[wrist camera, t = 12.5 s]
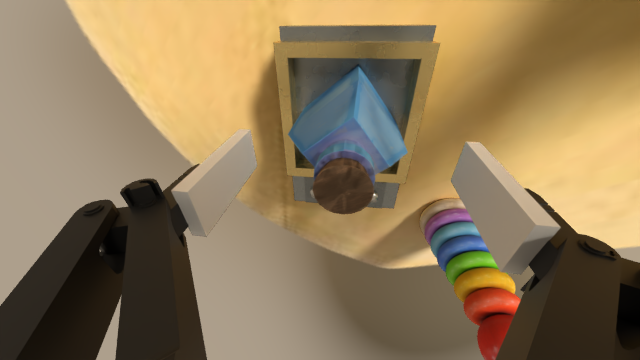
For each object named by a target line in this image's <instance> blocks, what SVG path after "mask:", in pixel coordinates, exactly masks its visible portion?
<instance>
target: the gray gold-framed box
mask: <svg viewBox="0 0 640 360" xmlns="http://www.w3.org/2000/svg"><path fill="white" fill-rule="evenodd" d="M279 28H280V39H281V41H278V42H274V43H273V44H274V53H275V63H276V73H277V82H278V92H279V101H280V111H281V121H282V130H283V140H284V150H285V159H286V169H287V175H288V176H293V187H294V198H295V200H297V201H305V202H313V203H318V202H317V200H316V199H315V197H314V194H313V182H314V169H315V167H314V166H313V165H312V164H311V163H310V162H309V161H308V159H307V158H306V157H305V156H304V155H303V154H302V153H301V151H300V150H299V149H298V147H297V146H296V145H295V143H294V142H293V141H292V139H291V138H290V137H289V135H288V133H289V132H290V130H291V128H292V127H293V125H294V124H295V122H296V120H297V119H298V117H299V116H300V114H301V112H302V111H303V109H304V108H305V107H306V106H308V105H309V104H310V103H311V102H313V101H314V100H315V99H316V98H317V97H319V96H320V95H321V94H322V93H324V92H325V91H326V90H327V89H328V88H330V87H331V86H332V85H333V84H335V83H336V82H337V81H338V80H340V79H341V78H342V77H343V76H344V75H346V74H347V73H348V72H349V71H351V70H352V69H353V68H354V67H355V66H357V65H358V64H359V65H360V67H361V69H362V70H363V72H364V73H365V75H366V76H367V78H368V79H369V81H370V82H371V84H372V86H373V87H374V89H375V90H376V92H377V93H378V95H379V96H380V98H381V99H382V101H383V103H384V104H385V106H386V107H387V109H388V110H389V112H390V113H391V115H392V116H393V118H394V120H395V121H396V123H397V126H398V128H399V131H400V133H401V136H402V139H403V141H404V144H405V146H406V149H407V151H408V153H407V154H405V155H404V156H403V157H402V158H400V159H399V160H398V161H397V162H395V163H394V164H393V165H392V166H390V167H389V168H387V169H385V170H383V171H381V172H380V173H378V174H376V175H375V182H374V186H373V187H374V194H373V198H372V200H371V202H370V203H369V204H368V206H367V207H373V208H394V205H395V201H396V197H397V192H398V188H399V184H400V183H402V184H405V182H406V178H407V174H408V170H409V166H410V162H411V158H412V154H413V150H414V146H415V142H416V138H417V134H418V130H419V126H420V122H421V118H422V114H423V110H424V106H425V102H426V98H427V94H428V90H429V86H430V82H431V78H432V74H433V70H434V66H435V62H436V58H437V54H438V50H439V46H440V43H438V42H434V41H433V37H434V33H435V28H436V25H322V26H279Z"/></svg>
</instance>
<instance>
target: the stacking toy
mask: <svg viewBox="0 0 640 360" xmlns="http://www.w3.org/2000/svg"><path fill="white" fill-rule="evenodd" d="M419 225H420V229H421V231H422V233H423V234H424V235H425V238H426V240H427V242H428V244H429V245H430V246H431V250H432V252H433V254H434V255H435V257H436V258H437V261H438V264H439V266H440V267H441V269H442V270H443V271H445V272H446V276H447V279H448V280H449V282H450V283H451V284H452V285H454V291H455V294H456V295H457V297H458V298H459V299H460V300H461V301H462V302H464V311H465V314H466V315H467V317H468V318H469V319H470V320H471V321H472V322H473V323H475V324H477V325H479V326H480V327H479V330H478V336H477V337H478V345H479V348H480V351H481V354H482V355H483V357H484V359H485V360H495V359H496V357H497V354H498V352H499V350H500V347H501V345H502V343H503V340H504V338H505V336H506V333H507V331H508V329H509V326H510V324H511V322H512V319H513V317H514V315H515V312H516V310H517V308H518V305H519V303H520V301H521V300H520V298H519V297H517V296H516V295H515V294H514V292H515V284H514V282H513V280H512V278H511V277H510V276H509V275H508V273H504V272H500V270H499V268H498V267H497V265H496V263H495V261H494V259H493V257H492V255H491V254H490V252H489V250H488V248H487V246H486V244H485V243H484V241H483V239H482V237H481V235H480V233H479V232H478V230H477V228H476V226H475V224H474V222H473V221H472V219H471V217H470V215H469V213H468V211H467V210H466V208H465V206H464V204H463V202H462V200H461V199H459V198H448V199H443V200H439V201H437V202H435V203H433V204H431V205H430V206H428V207H427V208H426V209H425V210H424V211H423V213H422V215H421V217H420V221H419Z"/></svg>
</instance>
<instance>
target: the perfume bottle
mask: <svg viewBox="0 0 640 360" xmlns="http://www.w3.org/2000/svg"><path fill="white" fill-rule="evenodd" d="M288 135H289V137H290V138H291V139H292V141H293V142H294V143H295V145H296V146H297V147H298V149H299V150H300V151H301V153H302V154H303V155H304V156H305V157H306V158H307V159H308V161H309V162H310V163H311V164H312V165H313V166H314V167H315V169H314V182H313V194H314V197H315V199H316V200H317V202H318V203H319V204H320V205H321V206H322V207H324V208H325V209H326V210H329V211H331V212H333V213H338V214H352V213H355V212H358V211H361V210H362V209H364V208H365V207H367V206H368V204H369V203H370V202H371V200H372V198H373V194H374V187H373V186H374V182H375V175H376V174H378V173H380V172H381V171H383V170H385V169H387V168H389V167H390V166H392V165H393V164H394V163H395V162H397V161H398V160H399V159H400V158H402V157H403V156H404V155H405V154H407V153H408V151H407V149H406V146H405V144H404V141H403V139H402V136H401V133H400V131H399V128H398V126H397V123H396V121H395V120H394V118H393V116H392V115H391V113H390V112H389V110H388V109H387V107H386V106H385V104H384V103H383V101H382V99H381V98H380V96H379V95H378V93H377V92H376V90H375V89H374V87H373V86H372V84H371V82H370V81H369V79H368V78H367V76H366V75H365V73H364V72H363V70H362V69H361V67H360V65H359V64H358V65H357V66H355V67H354V68H353V69H352V70H351V71H349V72H348V73H347V74H346V75H344V76H343V77H342V78H341V79H340V80H338V81H337V82H336V83H335V84H333V85H332V86H331V87H330V88H328V89H327V90H326V91H325V92H324V93H322V94H321V95H320V96H319V97H317V98H316V99H315V100H314V101H313V102H311V103H310V104H309V105H308V106H306V107H305V108H304V109H303V111H302V112H301V114H300V116H299V117H298V119H297V120H296V122H295V124H294V125H293V127H292V128H291V130H290V132H289V133H288Z"/></svg>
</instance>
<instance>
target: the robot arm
mask: <svg viewBox="0 0 640 360" xmlns="http://www.w3.org/2000/svg"><path fill="white" fill-rule="evenodd" d="M256 167H257V162H256V157H255V151H254V146H253V141H252V136H251V131H250V130H246V129H239V130H238V131H237V132H235V133H234V134H233V135H232V136H231V137H230V138H229V139H228V140H227V141H225V142H224V143H223V144H222V145H221V146H220V147H219V148H218V149H217V150H215V151H214V152H213V153H212V154H211V155H210V156H209V157H208V158H207V159H205V160H204V161H203V162H202V163H201V164H197V165H195V166H193V167H191V168H190V169H188V170H187V171H186V172H185V173H184V174H183V175H182V176H180V177H179V178H178V180H176V181H175V182H174V183H172V184H171V185H170V186H169V187H168V188H166V189H165V190H164V191H163V192H162V190H161V188H160V186H159V184H158V182H157V181H156V180H154V179H143V180H138V181H135V182H132V183H131V184H129V185H127V186H126V187H124V188H123V189H122V190H121V192H120V194H121V195H122V197H123V198H124V200H125V201H126V203H127V204H128V206H129V207H122V208H116V207H115V205H114V204H113V202H112V201H110V200H99V201H95V202H91V203H90V204H86V205H85V206H83V207H82V208H80V209H79V210H78V211H76V212H75V213H74V215H73V216H72V217H71V218H70V220H69V221H68V222H67V223H66V225H65V226H64V227H63V228H62V230H61V231H60V232H59V233H58V235H57V236H56V237H55V238H54V240H53V241H52V242H51V243H50V245H49V246H48V247H47V248H46V250H45V251H44V252H43V253H42V255H41V256H40V257H39V258H38V260H37V261H36V262H35V263H34V265H33V266H32V267H31V268H30V270H29V271H28V272H27V273H26V275H25V276H24V277H23V278H22V280H21V281H20V282H19V283H18V285H17V286H16V287H15V288H14V289H13V291H12V292H11V293H10V294H9V296H8V297H7V298H6V299H5V301H4V302H3V303H2V304H1V306H0V360H96V358H97V355H98V353H99V350H100V347H101V345H102V342H103V340H104V337H105V335H106V332H107V330H108V327H109V325H110V322H111V320H112V317H113V314H114V312H115V309H116V307H117V304H118V302H119V299H120V297H121V294H122V297H121V307H120V317H119V328H118V338H117V349H116V359H115V360H207V357H206V351H205V346H204V340H203V335H202V329H201V323H200V317H199V311H198V305H197V300H196V294H195V289H194V283H193V277H192V271H191V265H190V260H189V254H188V248H187V242H186V237H185V236H184V233H183V232H184V231H185V230H186V228H187V227H189V229H190V231H191V233H192V235H196V236H205V237H207V236H208V234H209V233H210V231H211V230H212V229H213V227H214V226H215V224H216V223H217V222H218V220H219V219H220V217H221V216H222V215H223V213H224V212H225V210H226V209H227V208H228V206H229V205H230V203H231V202H232V201H233V199H234V198H235V196H236V195H237V194H238V192H239V191H240V189H241V188H242V187H243V185H244V184H245V182H246V181H247V180H248V178H249V177H250V175H251V174H252V173H253V171H254V170H255V168H256ZM451 182H452V184H453V186H454V188H455V189H456V191H457V193H458V195H459V197H460V199H461V200H462V202H463V204H464V206H465V208H466V210H467V211H468V213H469V215H470V217H471V219H472V221H473V222H474V224H475V226H476V228H477V230H478V232H479V233H480V235H481V237H482V239H483V241H484V243H485V244H486V246H487V248H488V250H489V252H490V254H491V255H492V257H493V259H494V261H495V263H496V265H497V267H498V268H499V270H500V272H504V273H513V274H522V273H523V271H524V270H525V269H526V268H527V267H528V265H529V266H530V268H531V269H532V270H533V272H534V273H535V274H534V275H533V276H532V277H531V279H530V280H529V281H528V282H527V283H526V284H525V285H524V286H523V287H522V289H521V290H522V291H523V292H524V291H525V292H524V294H523V296H522V299H521V301H520V303H519V305H518V308H517V310H516V312H515V315H514V317H513V319H512V322H511V324H510V326H509V329H508V331H507V333H506V336H505V338H504V340H503V343H502V345H501V347H500V350H499V352H498V354H497V357H496V359H495V360H640V263H638V262H634V261H631V260H627V259H624V258H621V257H620V255H619V254H618V253H617V252H616V251H615V250H614V249H613V248H611V247H610V246H609V245H607V244H606V243H604V242H602V241H600V240H598V239H596V238H593V237H590V236H587V235H582V234H578V233H577V232H576V231H575V230H574V229H573V228H572V227H571V226H570V225H569V224H568V223H567V222H566V221H565V220H564V219H563V218H562V217H561V216H560V215H559V214H558V213H557V212H554V211H555V210H554V209H553V208H552V207H551V206H550V205H548V203H547V202H546V201H545V200H544V199H543V198H542V197H541V196H539V195H538V194H536V193H534V192H533V191H531V190H530V189H526V188H523V187H522V186H521V185H520V184H519V183H518V182H517V181H516V180H515V178H514V177H513V176H512V175H511V174H510V173H509V172H508V171H507V170H506V169H505V168H504V167H503V166H502V165H501V164H500V163H499V162H498V161H497V160H496V158H495V157H494V156H493V155H492V154H491V153H490V152H489V151H488V150H487V149H486V148H485V147H484V146H483V145H482V144H481V143H480V142H466V143H465V145H464V148H463V150H462V153H461V155H460V158H459V160H458V163H457V166H456V168H455V171H454V173H453V176H452V178H451ZM99 249H100V250H101V252H100V251H99Z"/></svg>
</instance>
